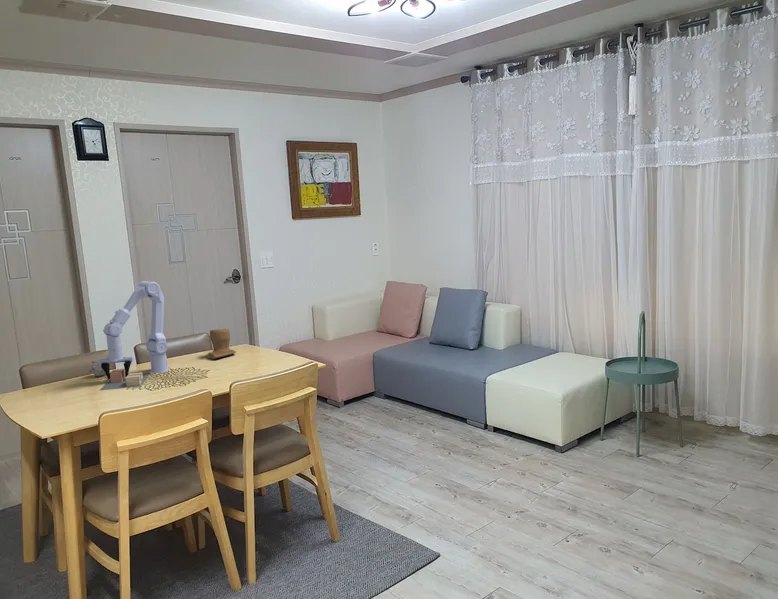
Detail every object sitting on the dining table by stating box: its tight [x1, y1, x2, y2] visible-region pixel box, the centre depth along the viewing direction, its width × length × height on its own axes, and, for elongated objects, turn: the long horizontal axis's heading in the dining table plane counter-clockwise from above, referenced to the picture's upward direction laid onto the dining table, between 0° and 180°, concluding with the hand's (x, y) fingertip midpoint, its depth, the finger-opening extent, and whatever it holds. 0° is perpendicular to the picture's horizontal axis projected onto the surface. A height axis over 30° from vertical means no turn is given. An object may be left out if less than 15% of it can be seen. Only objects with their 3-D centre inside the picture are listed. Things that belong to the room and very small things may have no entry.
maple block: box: [126, 372, 144, 386], centre depth 272 cm, size 7×6×4 cm
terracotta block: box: [109, 368, 126, 383], centre depth 279 cm, size 7×5×4 cm
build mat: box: [98, 373, 151, 391], centre depth 277 cm, size 22×17×1 cm
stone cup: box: [207, 327, 237, 360], centre depth 320 cm, size 15×12×15 cm
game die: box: [88, 360, 111, 378], centre depth 290 cm, size 9×8×10 cm
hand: (118, 378), depth 280 cm, fingers open, 7 cm apart
